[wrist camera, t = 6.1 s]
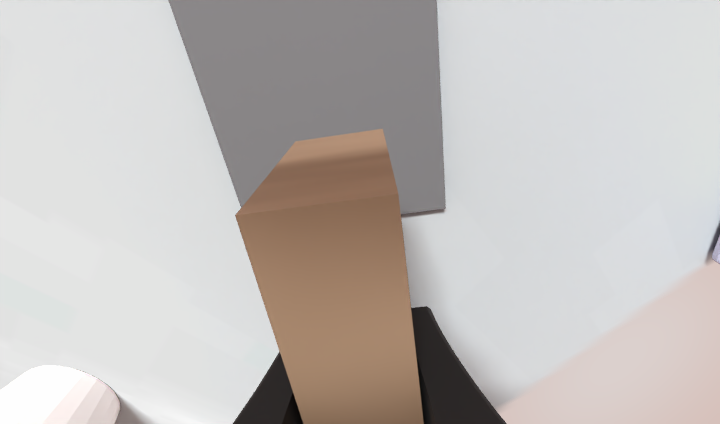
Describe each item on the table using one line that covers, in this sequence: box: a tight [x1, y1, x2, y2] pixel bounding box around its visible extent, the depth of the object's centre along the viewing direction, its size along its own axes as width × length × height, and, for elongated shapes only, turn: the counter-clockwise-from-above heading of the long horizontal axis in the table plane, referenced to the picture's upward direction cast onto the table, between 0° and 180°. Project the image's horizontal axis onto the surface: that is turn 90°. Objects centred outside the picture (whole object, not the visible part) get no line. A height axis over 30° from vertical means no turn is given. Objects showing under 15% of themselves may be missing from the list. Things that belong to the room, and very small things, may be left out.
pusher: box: [235, 129, 424, 424], centre depth 10 cm, size 13×7×5 cm, turn 9°
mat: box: [169, 0, 446, 214], centre depth 14 cm, size 10×17×1 cm, turn 9°
